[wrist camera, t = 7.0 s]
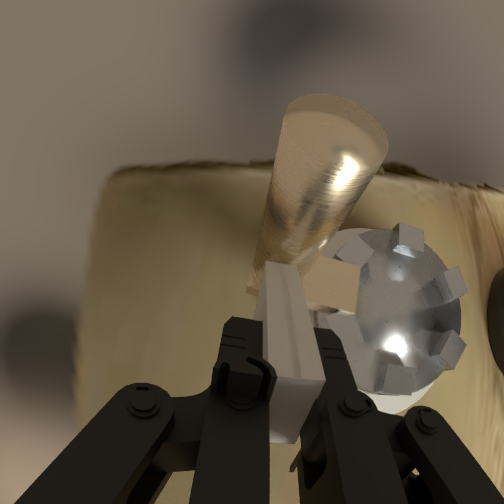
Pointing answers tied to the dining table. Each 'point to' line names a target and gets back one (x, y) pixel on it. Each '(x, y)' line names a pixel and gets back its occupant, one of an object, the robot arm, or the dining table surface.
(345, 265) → the grey and clear pieces
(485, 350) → the dining table surface
